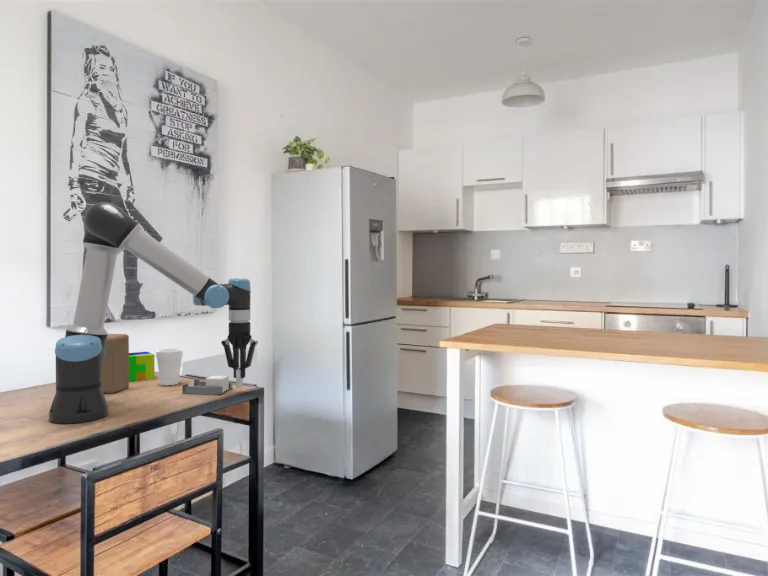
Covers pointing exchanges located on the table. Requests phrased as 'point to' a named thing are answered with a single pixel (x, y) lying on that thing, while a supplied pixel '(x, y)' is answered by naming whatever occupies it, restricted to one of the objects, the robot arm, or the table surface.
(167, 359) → the foam cup
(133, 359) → the puzzle toy
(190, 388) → the chute
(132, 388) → the table surface
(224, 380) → the block
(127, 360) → the wooden block
